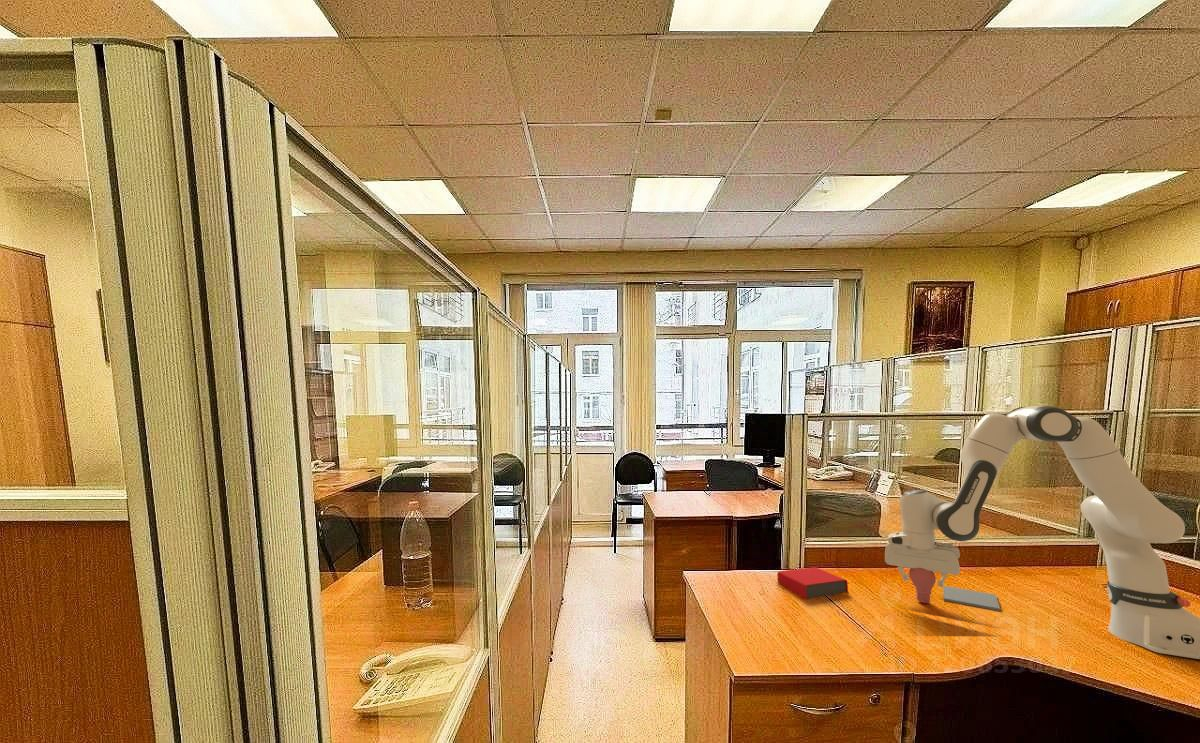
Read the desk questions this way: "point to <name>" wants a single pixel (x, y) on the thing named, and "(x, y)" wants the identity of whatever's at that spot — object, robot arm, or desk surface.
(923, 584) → the light bulb
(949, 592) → the mat
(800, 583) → the red device housing
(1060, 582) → the desk surface
